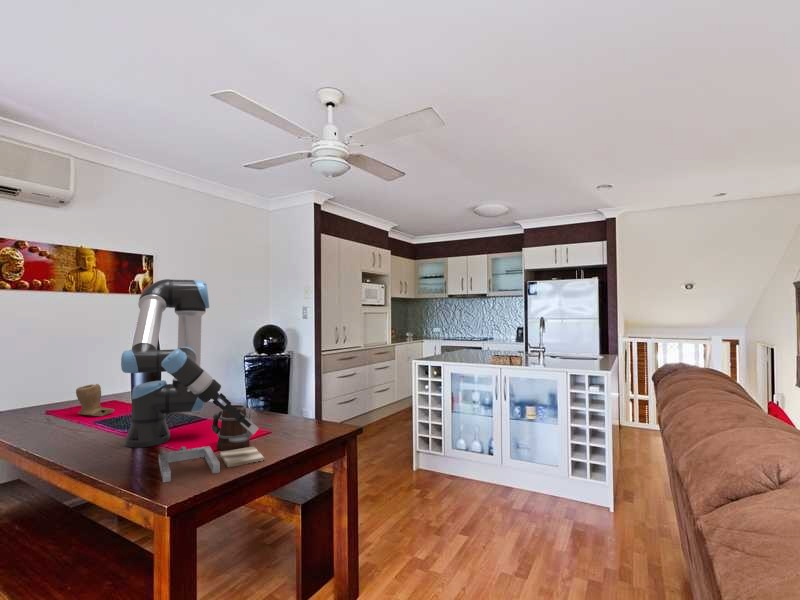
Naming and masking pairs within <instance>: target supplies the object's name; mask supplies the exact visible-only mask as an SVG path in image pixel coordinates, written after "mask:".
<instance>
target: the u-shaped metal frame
mask: <svg viewBox="0 0 800 600" xmlns="http://www.w3.org/2000/svg"><path fill="white" fill-rule="evenodd" d="M200 457H201V458H204V459H205V461H206V464H207V465H208V467H209V469H210V470H211V473H212V474H218V473H221V472H220V471H221V462H220V461H219V459H218V458H217V456H216V454H215V453H214V451H213V450H212V448H211V446H210V445H208V446H202V447H194V448H193V447H192V448H188V449H187V447H186V446H180V449H179V450H174V451H168V452H162V453H158V465H159V470H160V476H161V479H162V483H163V484H164V483H170V482H171V481H172V480H171V479H172V478H171V477H172V475H171V473H172V471H171V467H170V464H171V463H175V462H182V461H188V460H194V459H199V458H200Z"/></svg>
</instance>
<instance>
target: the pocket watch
mask: <svg viewBox="0 0 800 600" xmlns="http://www.w3.org/2000/svg"><path fill="white" fill-rule="evenodd" d="M251 415H252V410H249V412H248V419H249V420H250V421H251V422H252V423H253V419H252V417H251ZM247 435H248V436H245V435H238V436H233V437H230V438H229V441H230V442H234V443H238V442H244V441H247V440H248V439H249V440H250V438H251V437H252V436H253V434H252V433H251V432H249V431H248V430H247Z"/></svg>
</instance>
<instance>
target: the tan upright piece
mask: <svg viewBox="0 0 800 600" xmlns="http://www.w3.org/2000/svg"><path fill="white" fill-rule="evenodd" d="M75 395H76V398H77V400H78V402H79V404H80V406H81V409H80V410H79V411H78V412H77V414H78V415H83V416H93V417H104V416H107V415H109V414H112V413H113V412H115V409H114V408H109V407H102V406H101V399H102V398H101V397H102V388H101V385H100V384H99V383H96V384H94V383H93V384H86V385H82V386H79V387H77V388H76V390H75Z"/></svg>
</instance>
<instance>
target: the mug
mask: <svg viewBox="0 0 800 600" xmlns="http://www.w3.org/2000/svg"><path fill="white" fill-rule="evenodd" d="M231 405H232V406H233V407H234V408H236V409H237V410H238V409H240V410H241V411H240V412H241V413H242V414H243V415H244V416H245V417H246V418H249V412H248V413H247V411H246V406H245V405H242V404H231ZM212 418H213V419H212V425H211V430H212V432H213V433H214V434H216V435H217V438H218V440H217V442H216V449H217V448H218V449H217V450H221V451H222V452H223V451H229V450H235V449H241V448H248V447H250V438H249V439H248V440H247V441H244V442H238V443H234V442H230V441H229V438H230V437H233V436H238V435H245V436H248V435H247V429H246V428H245V427H244V426H242V425H241V424H239V425H238V421H237V420H236V419H235V418H234V417H233V416H231V415H230V414H229V413H228V412H227V411H226V410H220V411H216V412H215V413H214V414H213V417H212ZM219 420H220V421H221V423H220V427H219Z"/></svg>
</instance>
